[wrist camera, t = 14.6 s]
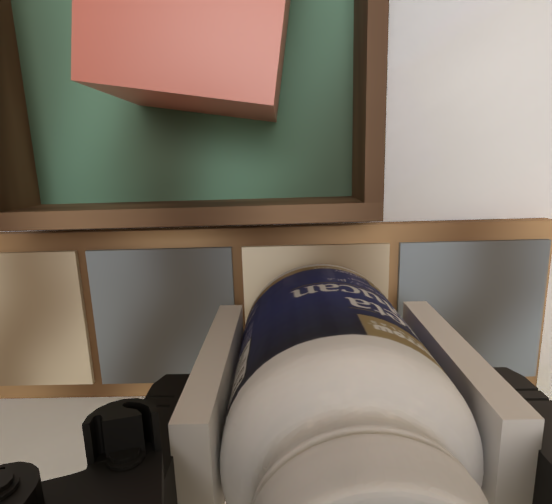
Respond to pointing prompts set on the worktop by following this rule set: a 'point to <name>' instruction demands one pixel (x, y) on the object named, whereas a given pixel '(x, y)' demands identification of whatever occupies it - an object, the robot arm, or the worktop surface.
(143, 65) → the salmon red cube
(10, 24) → the dice tray
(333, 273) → the pill bottle
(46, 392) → the board
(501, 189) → the worktop surface
